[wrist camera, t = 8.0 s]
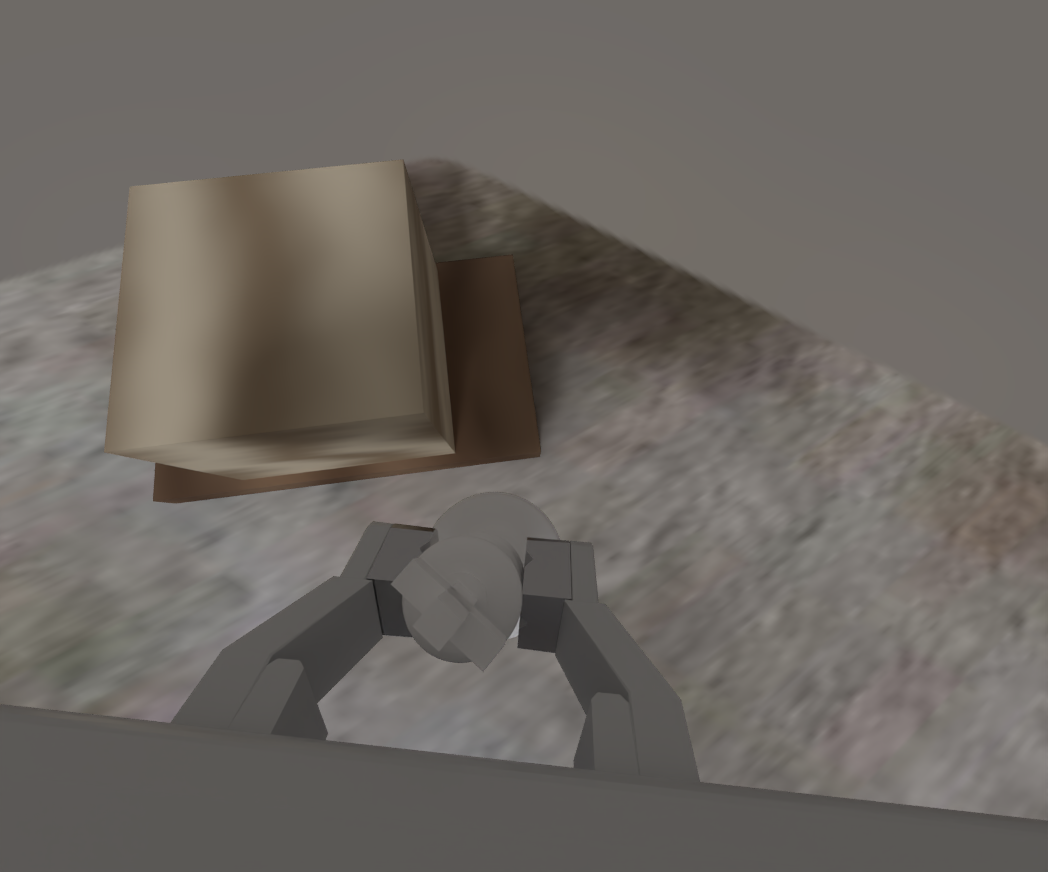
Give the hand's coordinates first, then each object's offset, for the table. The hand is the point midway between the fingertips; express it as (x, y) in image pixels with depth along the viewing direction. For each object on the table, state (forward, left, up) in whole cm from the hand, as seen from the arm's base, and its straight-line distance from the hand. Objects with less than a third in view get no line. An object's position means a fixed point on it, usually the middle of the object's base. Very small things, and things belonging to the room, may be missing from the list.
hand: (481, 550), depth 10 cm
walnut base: (+7, -10, -13) cm, 18 cm away
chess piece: (0, +1, -5) cm, 5 cm away
